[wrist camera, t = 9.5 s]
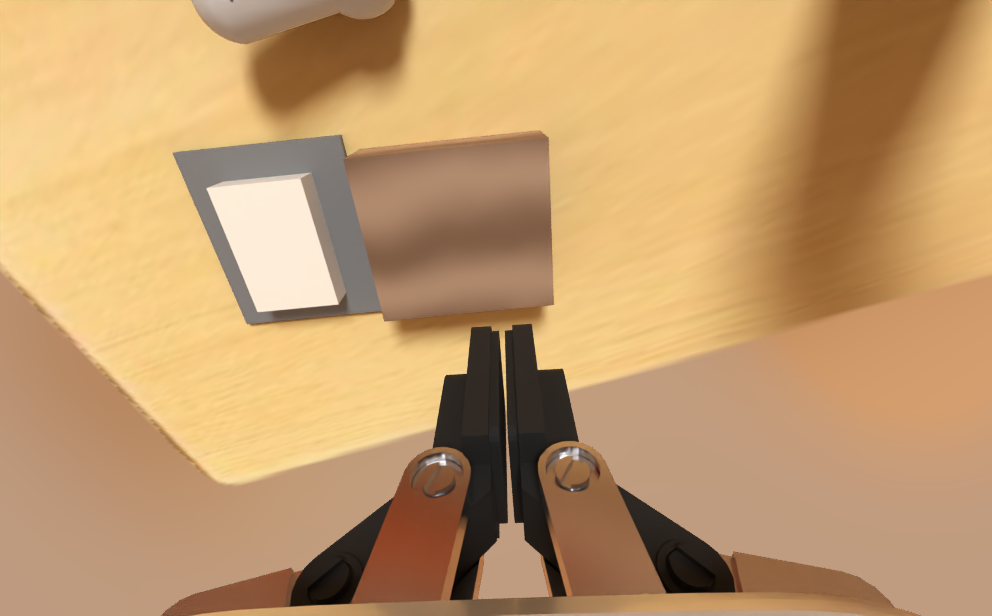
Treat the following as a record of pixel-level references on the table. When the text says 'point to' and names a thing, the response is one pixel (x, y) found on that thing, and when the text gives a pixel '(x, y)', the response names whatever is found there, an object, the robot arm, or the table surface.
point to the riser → (456, 224)
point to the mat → (334, 198)
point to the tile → (280, 241)
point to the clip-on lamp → (278, 15)
